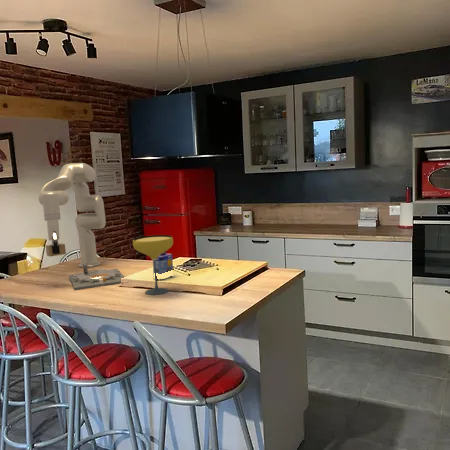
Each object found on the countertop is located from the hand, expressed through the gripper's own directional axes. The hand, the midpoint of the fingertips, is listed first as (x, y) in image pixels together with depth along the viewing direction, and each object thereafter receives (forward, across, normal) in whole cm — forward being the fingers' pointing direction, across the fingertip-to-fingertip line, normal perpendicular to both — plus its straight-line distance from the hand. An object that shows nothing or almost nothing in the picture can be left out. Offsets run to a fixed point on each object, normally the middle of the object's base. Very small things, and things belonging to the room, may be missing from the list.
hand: (56, 252), depth 235 cm
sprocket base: (+17, -2, +19) cm, 26 cm away
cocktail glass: (+17, +39, +41) cm, 59 cm away
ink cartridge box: (+18, +15, +50) cm, 55 cm away
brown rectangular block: (+1, 0, 0) cm, 1 cm away
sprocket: (+16, -2, +19) cm, 25 cm away
